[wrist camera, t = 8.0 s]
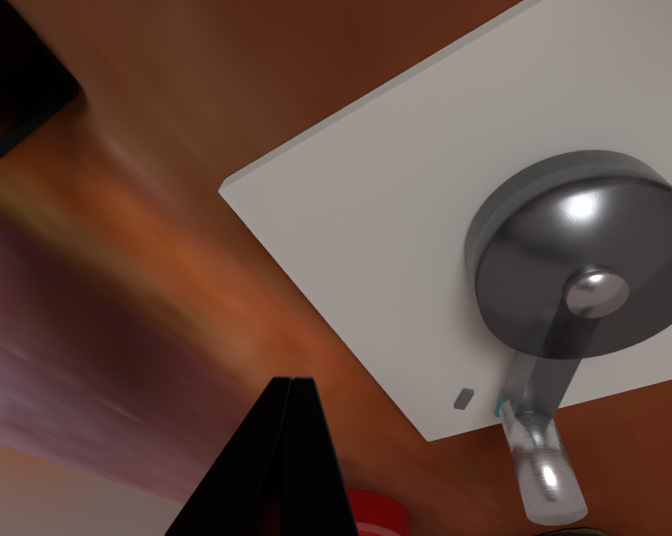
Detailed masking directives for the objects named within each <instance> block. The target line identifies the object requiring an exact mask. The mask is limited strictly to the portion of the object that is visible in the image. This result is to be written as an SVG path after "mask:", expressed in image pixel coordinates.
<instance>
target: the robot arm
mask: <svg viewBox="0 0 672 536" xmlns="http://www.w3.org/2000/svg"><path fill="white" fill-rule="evenodd" d="M59 81H60V82H62V83H64V84H65V86H66V87H67V91H68V92H67V91H64V90H63V89H62V88H61V86H60V83H59ZM78 94H79V85H78V83H77V81H76V80H75V78H74V77H73V76H72V75H71V74H70V73H69V72H68V70H67V69H66V68H65V67H64V66H63V65H62V64H61V63H60V62H59V60H58V59H57V58H56V57H55V56H54V55H53V54H52V53H51V52H50V50H49V49H48V48H47V47H46V46H45V45H44V44H43V43H42V42H41V40H40V39H39V38H38V37H37V34H36V33H35V32H34V31H33V30H32V28H31V27H30V26H29V25H28V24H27V23H26V22H25V21H24V19H23V18H22V17H21V16H20V15H19V14H18V13H17V12H16V11H15V9H14V8H13V7H12V6H11V5H10V4H9V3H8V2H7V1H6V0H0V159H1V158H2V157H4V156H5V155H6V154H7V153H8V152H10V151H11V150H12V149H13V148H15V147H16V146H17V145H18V144H19V143H21V142H22V141H23V140H24V139H26V138H27V137H28V136H29V135H30V134H32V133H33V132H34V131H35V130H37V129H38V128H39V127H40V126H41V125H43V124H44V123H45V122H46V121H48V120H49V119H50V118H51V117H52V116H54V115H55V114H56V113H57V112H59V111H60V110H61V109H62V108H63V107H65V106H66V105H67V104H68V103H70V102H71V101H72V100H73V99H74V98H76V97H77V95H78ZM165 536H360V535H359V531H358V528H357V524H356V521H355V517H354V514H353V510H352V507H351V504H350V500H349V497H348V493H347V490H346V486H345V483H344V479H343V476H342V472H341V469H340V465H339V462H338V458H337V455H336V451H335V448H334V444H333V441H332V438H331V434H330V431H329V427H328V424H327V420H326V417H325V413H324V410H323V406H322V403H321V399H320V396H319V392H318V389H317V385H316V382H315V379H314V378H313V377H310V376H297V377H295V378H293V377H292V376H275V377H273V378H272V379H271V381H270V382H269V384H268V385H267V386H266V388H265V389H264V391H263V392H262V394H261V395H260V397H259V398H258V399H257V401H256V402H255V404H254V405H253V407H252V408H251V410H250V411H249V413H248V414H247V415H246V417H245V418H244V420H243V421H242V423H241V424H240V426H239V427H238V429H237V430H236V431H235V433H234V434H233V436H232V437H231V439H230V440H229V442H228V443H227V445H226V446H225V447H224V449H223V450H222V452H221V453H220V455H219V456H218V458H217V459H216V460H215V462H214V463H213V465H212V466H211V468H210V469H209V471H208V472H207V474H206V475H205V476H204V478H203V479H202V481H201V482H200V484H199V485H198V487H197V488H196V490H195V491H194V492H193V494H192V495H191V497H190V498H189V500H188V501H187V503H186V504H185V506H184V507H183V509H182V510H181V511H180V513H179V515H178V516H177V517H176V519H175V520H174V521H173V523H172V524H171V526H170V527H169V529H168V530H167V532H166V533H165Z"/></svg>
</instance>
